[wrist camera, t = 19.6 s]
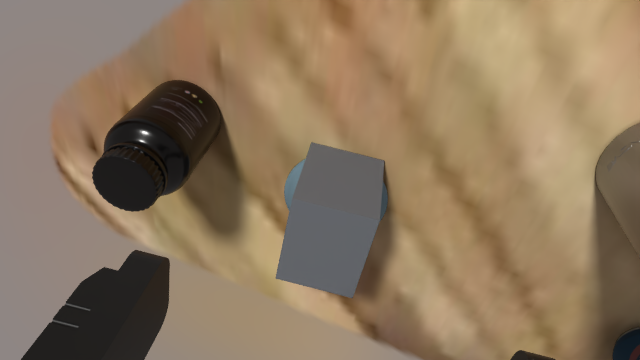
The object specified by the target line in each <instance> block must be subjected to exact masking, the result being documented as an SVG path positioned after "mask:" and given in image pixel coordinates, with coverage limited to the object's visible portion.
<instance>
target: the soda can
mask: <svg viewBox="0 0 640 360" xmlns="http://www.w3.org/2000/svg"><path fill="white" fill-rule="evenodd" d="M613 360H640V327H637V328H634V329H631V330H629V331H627V332H625V333H623V334H622V335H621V336H620V337H619V338H618V339H617V341H616V344H615V347H614V350H613Z"/></svg>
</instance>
